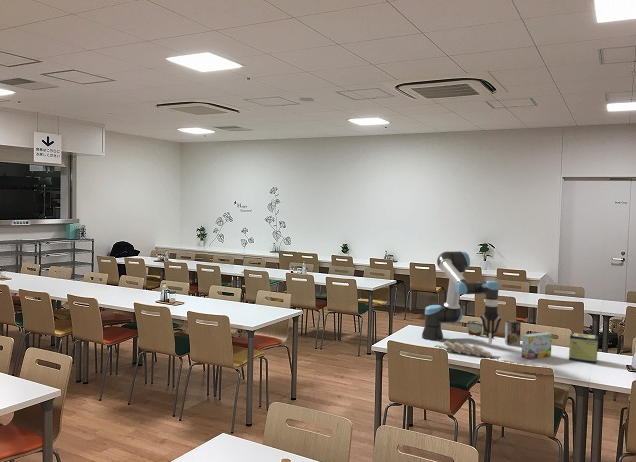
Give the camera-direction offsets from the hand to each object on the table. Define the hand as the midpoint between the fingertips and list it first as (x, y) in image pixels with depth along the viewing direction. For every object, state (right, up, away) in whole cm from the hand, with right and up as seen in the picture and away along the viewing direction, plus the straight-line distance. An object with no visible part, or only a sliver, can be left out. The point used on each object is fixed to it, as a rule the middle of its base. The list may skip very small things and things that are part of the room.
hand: (490, 343), depth 331 cm
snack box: (+31, -10, +5) cm, 33 cm away
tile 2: (-5, -8, +3) cm, 10 cm away
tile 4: (-15, -7, +9) cm, 19 cm away
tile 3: (-10, -8, +6) cm, 14 cm away
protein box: (+58, -11, +1) cm, 59 cm away
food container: (+11, -8, +64) cm, 66 cm away
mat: (-9, -9, +5) cm, 14 cm away
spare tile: (-20, -7, +12) cm, 25 cm away
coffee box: (+28, -9, +37) cm, 47 cm away
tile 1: (+1, -8, 0) cm, 8 cm away
